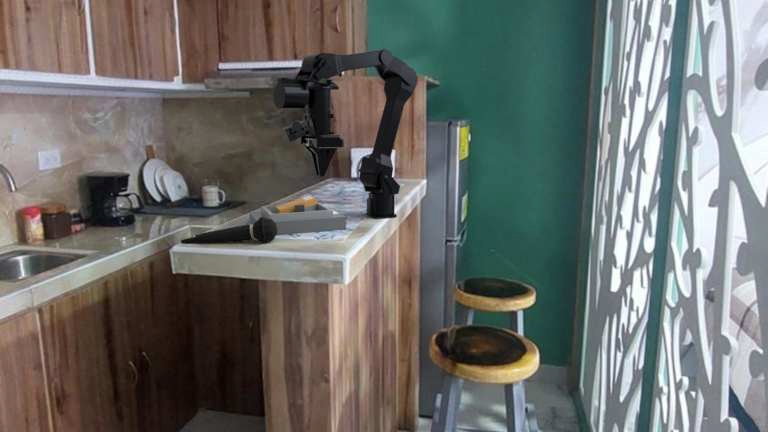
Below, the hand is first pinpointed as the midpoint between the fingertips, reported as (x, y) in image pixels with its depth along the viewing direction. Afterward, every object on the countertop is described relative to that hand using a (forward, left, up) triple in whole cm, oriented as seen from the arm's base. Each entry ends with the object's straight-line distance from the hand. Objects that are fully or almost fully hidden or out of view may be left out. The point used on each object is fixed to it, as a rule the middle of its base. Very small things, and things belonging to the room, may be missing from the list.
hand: (320, 175), depth 125 cm
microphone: (+22, +9, -12) cm, 27 cm away
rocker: (+6, 0, -7) cm, 9 cm away
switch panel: (+6, 0, -12) cm, 13 cm away
